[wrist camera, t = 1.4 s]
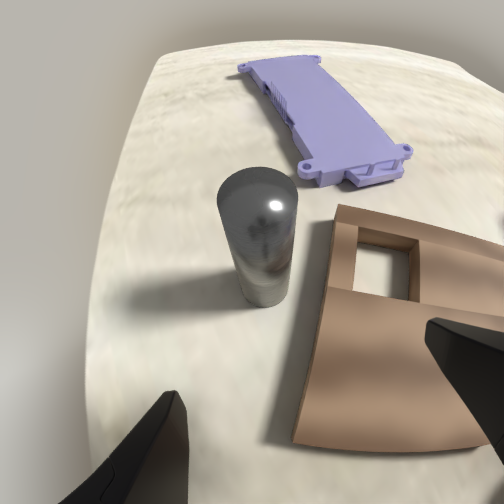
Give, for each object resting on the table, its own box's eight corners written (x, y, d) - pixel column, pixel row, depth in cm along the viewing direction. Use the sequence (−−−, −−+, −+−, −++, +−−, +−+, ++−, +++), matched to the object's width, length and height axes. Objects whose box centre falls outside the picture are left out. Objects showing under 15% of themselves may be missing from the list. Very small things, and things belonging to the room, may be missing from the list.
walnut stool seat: (487, 440, 15) (502, 441, 13) (290, 437, 18) (292, 442, 16) (493, 257, 24) (505, 246, 21) (333, 219, 27) (338, 203, 25)
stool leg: (283, 312, 23) (290, 237, 13) (236, 301, 24) (205, 222, 14) (292, 268, 25) (303, 173, 15) (248, 260, 26) (230, 162, 15)
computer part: (307, 206, 29) (417, 179, 30) (311, 178, 25) (430, 155, 26) (237, 76, 43) (316, 66, 44) (234, 56, 39) (317, 46, 40)
